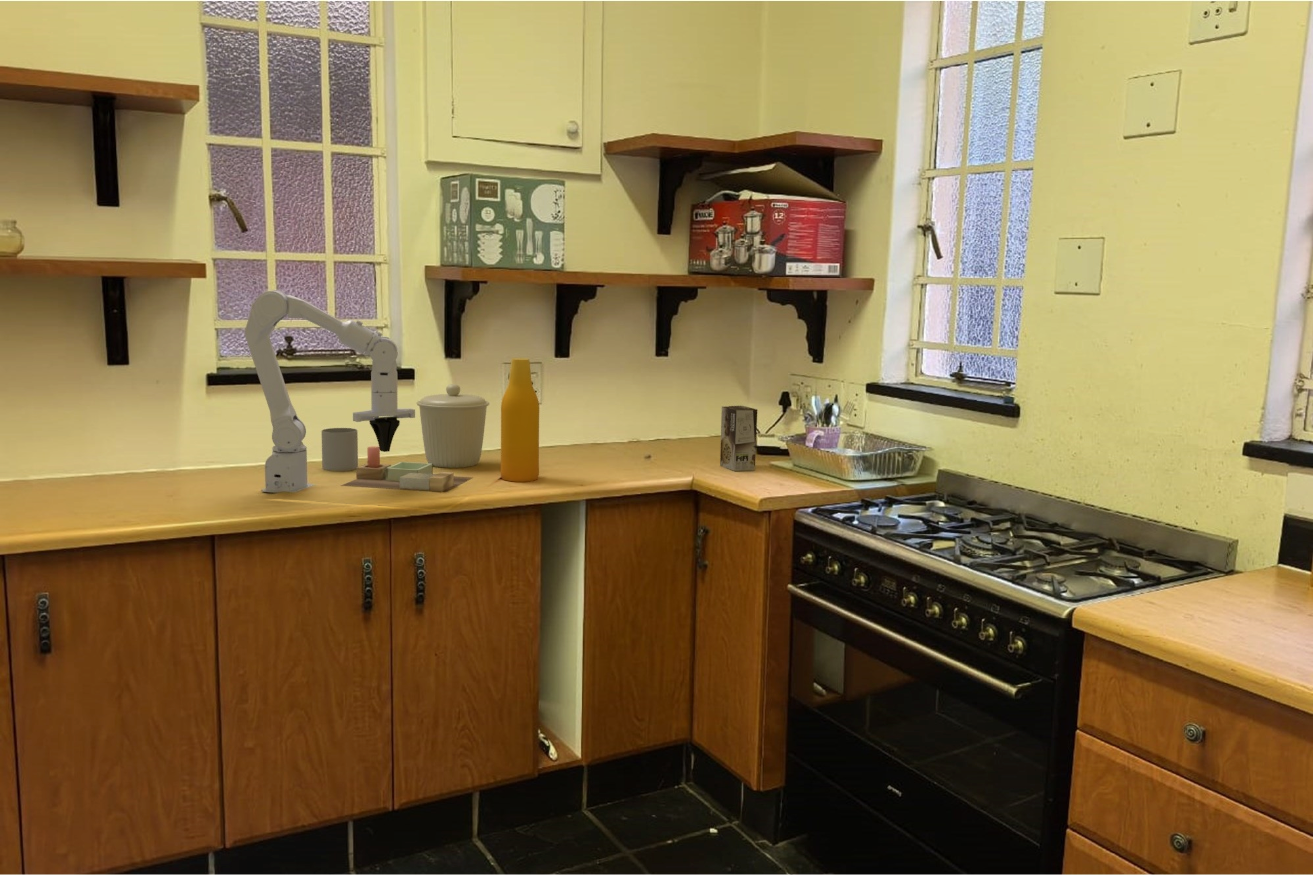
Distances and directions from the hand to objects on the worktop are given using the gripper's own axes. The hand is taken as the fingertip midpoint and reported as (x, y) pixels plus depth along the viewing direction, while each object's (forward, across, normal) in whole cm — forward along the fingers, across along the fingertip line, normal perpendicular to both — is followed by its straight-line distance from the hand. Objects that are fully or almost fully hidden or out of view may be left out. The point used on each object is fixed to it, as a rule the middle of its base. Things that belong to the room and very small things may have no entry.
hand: (384, 451), depth 237 cm
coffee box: (+8, -86, +30) cm, 91 cm away
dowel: (+8, -3, -10) cm, 13 cm away
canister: (+8, -27, -14) cm, 32 cm away
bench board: (+8, -6, 0) cm, 10 cm away
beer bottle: (+8, -31, +9) cm, 33 cm away
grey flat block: (+8, -5, +7) cm, 11 cm away
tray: (+8, -8, -4) cm, 12 cm away
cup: (+9, -1, -25) cm, 26 cm away
